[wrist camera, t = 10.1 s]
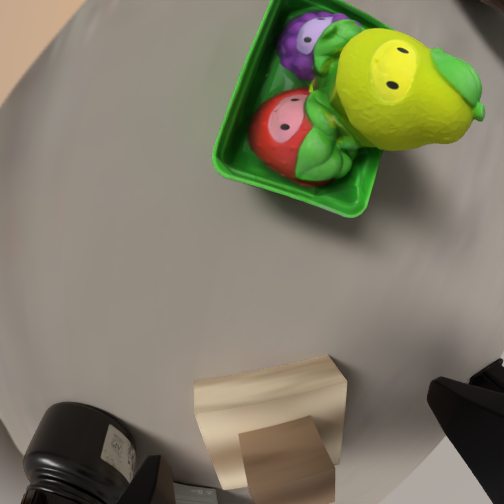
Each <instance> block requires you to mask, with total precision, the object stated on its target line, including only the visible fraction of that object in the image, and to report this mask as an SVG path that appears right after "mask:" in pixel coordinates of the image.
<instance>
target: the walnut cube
mask: <svg viewBox="0 0 504 504" xmlns="http://www.w3.org/2000/svg"><path fill="white" fill-rule="evenodd" d="M238 436H239V442H240V447H241V453H242V458H243V463H244V469H245V474H246V479H247V484H248V489H249V493H250V495H251V497H252V499H253V501H254V503H255V504H329V503H332V502H335V467H334V465H333V462H332V460H331V458H330V456H329V454H328V452H327V450H326V448H325V446H324V443H323V441H322V439H321V437H320V435H319V433H318V431H317V429H316V426H315V424H314V422H313V420H312V418H311V416H310V415H309V416H306V417H303V418H299V419H296V420H292V421H289V422H285V423H281V424H277V425H273V426H269V427H265V428H261V429H257V430H253V431H248V432H244V433H239V434H238Z"/></svg>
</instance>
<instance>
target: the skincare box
mask: <svg viewBox="0 0 504 504" xmlns="http://www.w3.org/2000/svg"><path fill="white" fill-rule="evenodd" d="M173 484H174V492H175V500H176V504H218V499H217V493H216V490H215V489H211V488H203V487H195V486H188V485H182V484H177V483H173Z"/></svg>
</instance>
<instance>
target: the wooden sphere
mask: <svg viewBox="0 0 504 504" xmlns="http://www.w3.org/2000/svg"><path fill="white" fill-rule="evenodd" d="M479 1H481V2H482V3H484V4H486V5H488V6H489V7H491V8H493V9H495V10H498V11H500V12H502V13H504V0H479Z"/></svg>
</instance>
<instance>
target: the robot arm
mask: <svg viewBox="0 0 504 504" xmlns="http://www.w3.org/2000/svg"><path fill="white" fill-rule="evenodd" d="M502 363H503V359H501V358H500V359H499V360H497V361H496V362H494V363H493V364H491V365H490V366H488V367H487V368H485V369H484V370H482V371H481V372H479V373H477V374H476V375H474V376H473V377H472V378H471V380H470V384H466V383H462V382H459V381H455V380H452V379H449V378H446V377H442V376H441V377H438V378H436V379H434V380H432V381H431V382H430V386H429V390H428V394H427V402H428V404H429V406H430V408H431V410H432V411H433V413H434V415H435V417H436V418H437V420H438V422H439V424H440V426H441V427H442V429H443V431H444V433H445V434H446V436H447V437H448V438H449V440H450V441H451V443H452V444H453V445H454V447H455V448H456V450H457V451H458V453H459V454H460V455H461V457H462V458H463V460H464V461H465V462H466V464H467V465H468V467H469V468H470V470H471V471H472V473H473V474H474V476H475V477H476V478H477V480H478V481H479V483H480V484H481V486H482V487H483V489H484V490H485V492H486V493H487V495H488V496H489V498H490V500H491V501H492V503H493V504H504V367H503V366H502ZM116 504H176V500H175V492H174V484H173V476H172V471H171V468H170V466H169V465H168V463H167V461H166V459H165V458H164V456H163V455H162V454H151V455H149V456H148V457H147V458H146V460H145V461H144V463H143V464H142V466H141V467H140V469H139V470H138V472H137V473H136V474H135V476H134V477H133V479H132V480H131V482H130V483H129V485H128V486H127V488H126V489H125V491H124V492H123V493H122V495H121V496H120V498H119V499H118V501H117V502H116Z"/></svg>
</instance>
